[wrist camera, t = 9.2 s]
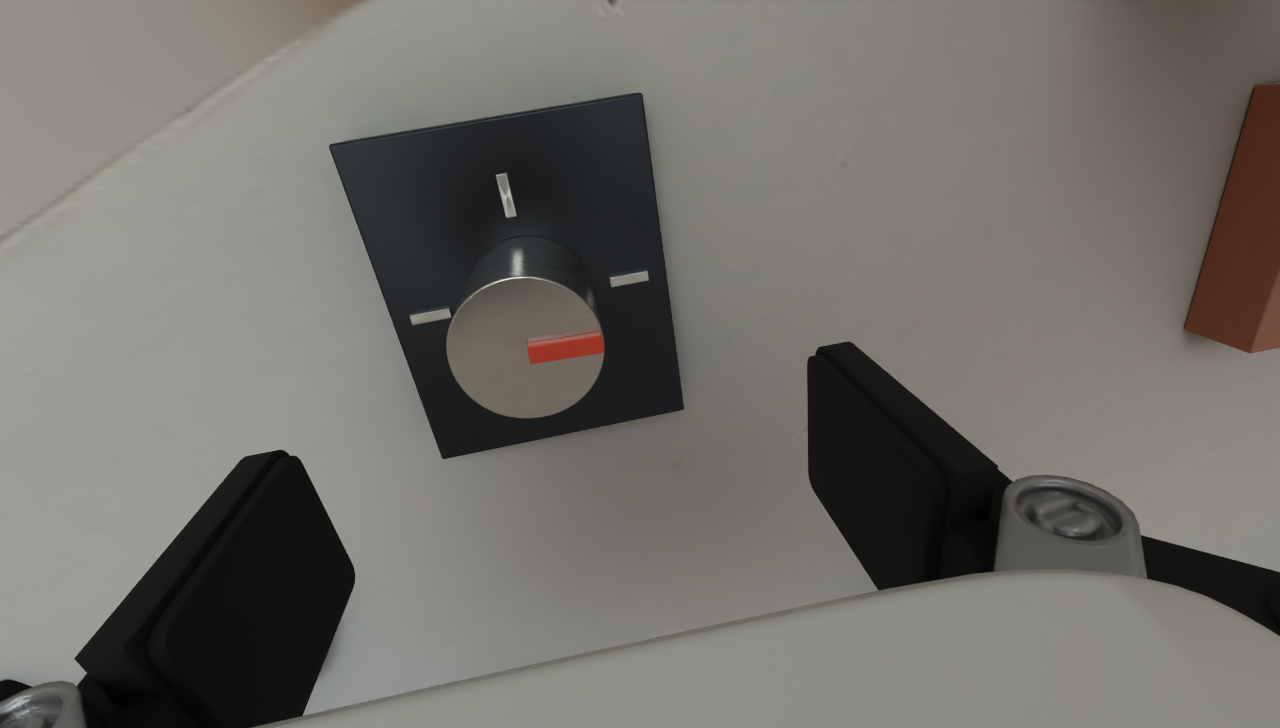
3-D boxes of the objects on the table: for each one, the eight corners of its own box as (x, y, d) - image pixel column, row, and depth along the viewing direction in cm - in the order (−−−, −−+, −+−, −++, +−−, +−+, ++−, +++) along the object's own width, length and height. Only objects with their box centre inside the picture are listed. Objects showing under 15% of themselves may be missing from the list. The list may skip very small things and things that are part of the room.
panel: (347, 140, 20) (325, 145, 18) (634, 92, 20) (643, 92, 18) (449, 434, 25) (441, 462, 23) (674, 388, 25) (685, 412, 24)
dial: (483, 361, 21) (465, 435, 17) (455, 244, 20) (425, 291, 15) (599, 343, 22) (614, 411, 17) (583, 227, 20) (594, 268, 15)
